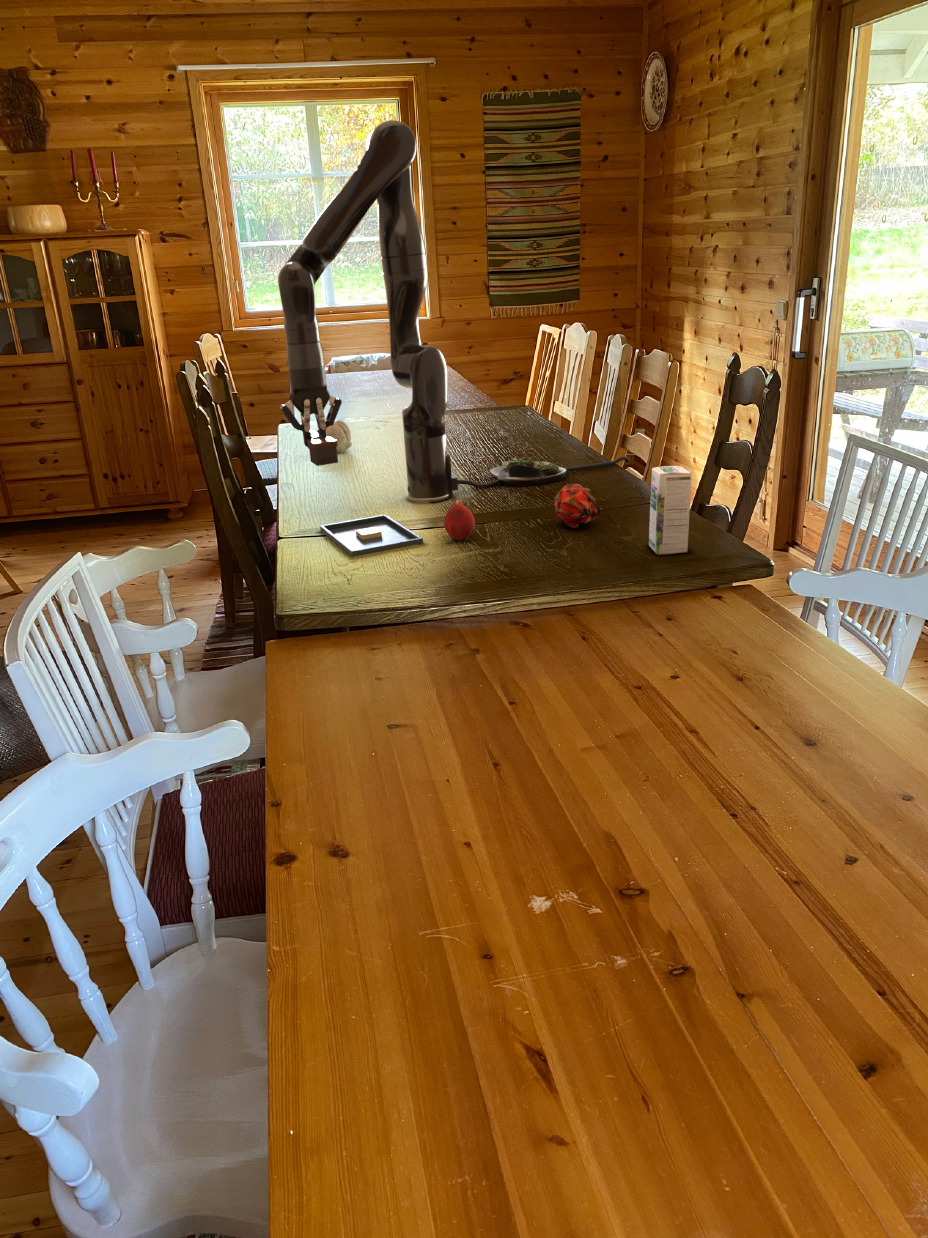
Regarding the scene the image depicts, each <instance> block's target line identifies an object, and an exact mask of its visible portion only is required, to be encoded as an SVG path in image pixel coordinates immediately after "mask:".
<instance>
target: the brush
mask: <svg viewBox="0 0 928 1238" xmlns="http://www.w3.org/2000/svg"><path fill="white" fill-rule="evenodd" d="M310 432H311V435H312V436H311V437H312V439H309V440H307V444H308V446H309V449H308V450H309V457H310V462H311V463H312V464H313V465H314V466H317V467H320V466H326V465H333V464H338V463H339V457H338V453H337V447H336V446H338V445H337V440H335V439H333V438H331V437H323V436H322V435H320V434H318V433H317V432H316V431H315V430H312V429H310Z"/></svg>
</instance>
